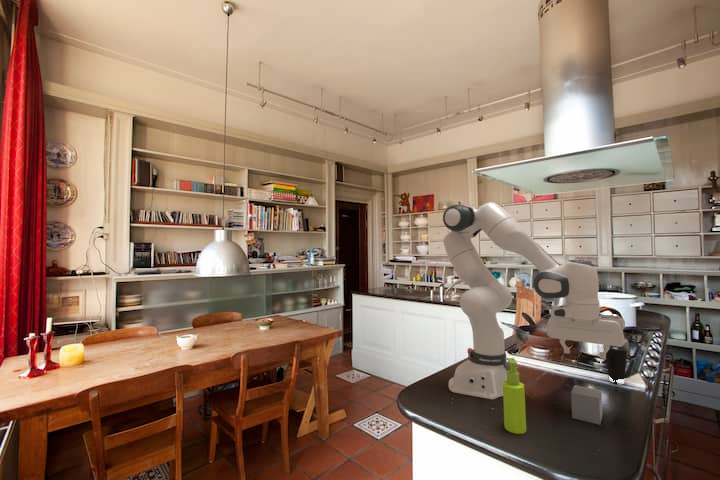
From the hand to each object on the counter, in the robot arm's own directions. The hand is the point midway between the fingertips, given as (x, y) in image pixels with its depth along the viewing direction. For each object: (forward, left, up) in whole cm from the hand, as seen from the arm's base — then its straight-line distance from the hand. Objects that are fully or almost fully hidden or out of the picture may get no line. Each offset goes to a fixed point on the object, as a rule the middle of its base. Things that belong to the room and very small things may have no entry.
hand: (584, 355), depth 107 cm
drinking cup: (+18, +32, -19) cm, 41 cm away
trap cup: (0, 0, -19) cm, 19 cm away
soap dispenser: (-22, -13, -19) cm, 32 cm away
